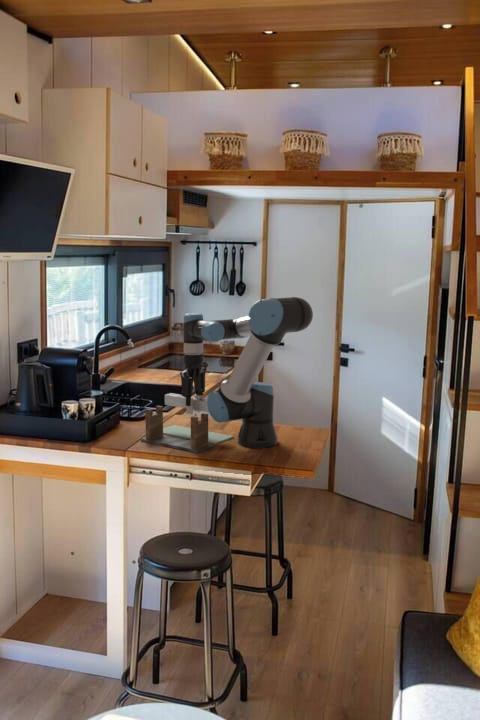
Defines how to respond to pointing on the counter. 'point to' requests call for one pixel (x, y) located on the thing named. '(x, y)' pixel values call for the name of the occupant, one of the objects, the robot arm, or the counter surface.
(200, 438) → the hook rack
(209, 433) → the sage mat
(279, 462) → the counter surface
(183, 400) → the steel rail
